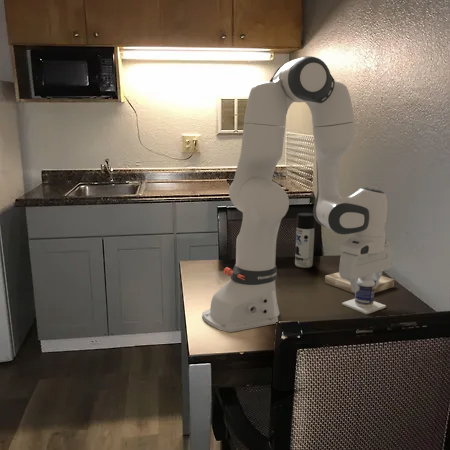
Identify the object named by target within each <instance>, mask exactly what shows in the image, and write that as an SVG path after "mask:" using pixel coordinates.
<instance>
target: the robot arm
mask: <svg viewBox="0 0 450 450" xmlns="http://www.w3.org/2000/svg"><path fill="white" fill-rule="evenodd" d="M293 103H305V104H306V105H307V106H308V108H309V110H310V114H311V122H312V134H313V141H314V148H315V156H316V157H315V159H316V161H315V162H316V188H317V191H316V192H317V193H316V197H315V201H314V204H313V209H312V214H313V215H314V218H315V222H317V224H319V225H320V226H322V227H324V228H327V229H329V230H330V231H332V232H334V233H336V234H337V235H338V234H339V235H349V234H350V235H351V234H353V235H352V236H351V237H350V238H348V239H347V240H346V241H344V242H343V243H342V244H340V251H341V252H342V253H341V255H340V259H339V267H338V270H339V271H338V272H339V274H340V276H341V278H343V279H346V280H349V281H350V283H351V285H352V286H351V291H353V292H358V291H359V288H360V286H358V285H357V281H358V278H360V277H364V276H367V275H371V274H374V273H375V274H374V276H373V279H372V280H374V282H375V286H377V285H379V279H380V277H381V276H383V272H385V271H387V270H388V271H389V270H390V269H391V268H392V265H393V250H392V247H391V246H392V245H391V242H390V241H389V240H388V239H386V231H385V230H386V229H385V225H386V223H387V220H388V219H387V217H388V198H387V195H386V193H385V192H384V191H382V190H381V189H376V188H372V187H366V186H365V187H364V186H362V187H359V189H357V190H356V191H355V192H353V193H352V194H350V195H347V196H345V197H342V196H341V194H340V186H339V185H340V184H339V182H340V180H339V179H340V177H339V167H340V162H341V161H342V159H343V158H344V156H345V155H347V154H348V153H349V152H350V151H351V150H352V148H353V146H354V143H355V132H356V130H355V118H354V117H355V116H354V111H353V105H352V99H351V96H350V93H349V89H348V87H347V85H346V84H344V83H342V82H340V81H336V80H335V78H334V77H333V75H332V74H331V71H330V69H329V67H328V66H327V64H326V63H325V62H324V61H323V60H322V59H320V58H319V57H316V56H312V55H311V56H309V55H308V56H307V55H306V56H302V57H300V58H299V57H298V58H293V59H291V60H289V61H287V62H286V63H284V64H282V65H280V66H279V67H278V68H277V70H275V72H274V74H273V76H272V77H271V78H270V80H268V81H261V82H258V83H256V84H254V85H253V86H252V88H251V89H250V90H249V95H248V98H247V102H246V107H245V112H244V119H243V129H242V139H241V148H240V155H239V159H238V162H237V166H236V170H235V174H234V177H233V180H232V182H231V183H230V186H229V189H228V194H229V195H228V196H229V199H230V201H231V203H232V204H233V206H234V207H235V208H236V209H237V210H238V211H240V212H241V213H242V221H241V226H240V230H239V233H238V235H237V237H236V238H235V239H236V242H235V243H236V244H235V245H236V246H235V249H236V250H235V263H234V266H233V268H230V267H228V266H226V267H225V268H224V269H223V273H224V275H227V276H230V279H229V280H228V281H227V282H226V283H225V284H223V286H221V287H220V288H219V290H217V291H216V292H215V293H214V294H213V296H212V297H211V301H210V309H207V310H204V311H202V315H201V316H202V319H203V321H204V322H206V323H207V324H208V325H210V326H212V327H213V328H215V329H218V330H220V331H223V332H226V333H227V332H229V333H235V332H239V331H244V330H248V329H254V328H259V327H263V326H265V327H266V326H268V325H274V324H277V323H276V322H278V323H279V316H280V310H279V306H278V299H277V292H276V291H277V289H276V280H277V274H278V273H277V267H278V266H277V265H276V255H277V251H276V250H277V239H278V233H279V229H280V226H281V221H282V219H283V218H284V217H285V216H286V214H287V212H288V211H289V206H290V199H289V196H288V194H287V191H286V190H284V189H283V187H282V186H281V185H280V184H278V182H275V181H273V176H274V173H275V171H276V167H277V165H278V163H279V162H280V160H281V159H282V156H283V152H284V143H285V132H286V124H287V115H288V111H289V108H290V106H291V105H292V104H293Z"/></svg>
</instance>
